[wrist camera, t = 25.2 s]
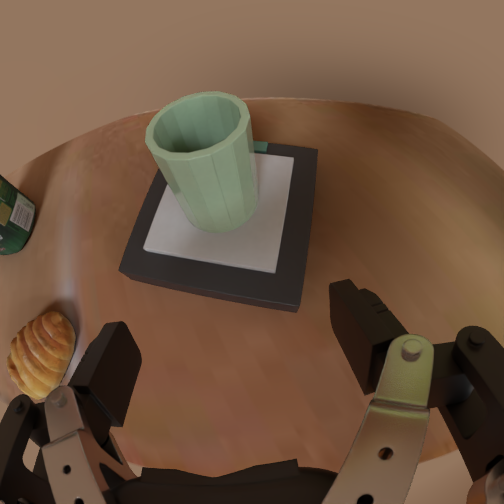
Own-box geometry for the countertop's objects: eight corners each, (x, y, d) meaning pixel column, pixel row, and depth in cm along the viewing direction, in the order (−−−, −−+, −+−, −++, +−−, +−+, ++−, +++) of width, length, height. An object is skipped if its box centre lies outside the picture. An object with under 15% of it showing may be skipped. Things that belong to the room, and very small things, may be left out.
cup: (264, 173, 21) (258, 92, 14) (249, 238, 19) (234, 163, 12) (196, 167, 22) (169, 93, 15) (174, 227, 20) (128, 158, 13)
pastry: (59, 298, 22) (34, 287, 18) (92, 349, 20) (65, 345, 16) (20, 356, 19) (-4, 351, 16) (48, 406, 17) (22, 408, 14)
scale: (315, 165, 25) (318, 144, 22) (296, 312, 20) (300, 305, 17) (179, 153, 27) (171, 133, 24) (131, 279, 22) (114, 268, 19)
